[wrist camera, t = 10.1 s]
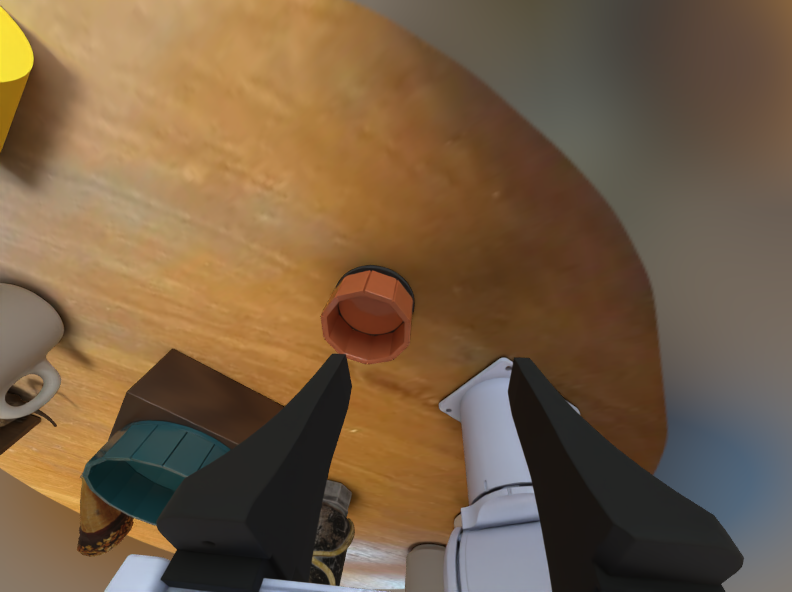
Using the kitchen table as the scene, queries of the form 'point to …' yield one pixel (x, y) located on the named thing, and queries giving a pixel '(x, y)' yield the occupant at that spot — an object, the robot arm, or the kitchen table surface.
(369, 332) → the small bowl
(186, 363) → the stand
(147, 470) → the big bowl
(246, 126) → the kitchen table surface
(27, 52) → the tape roll
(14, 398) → the figurine
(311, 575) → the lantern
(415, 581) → the can
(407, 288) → the coaster
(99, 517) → the ice cream cone
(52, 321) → the cup
